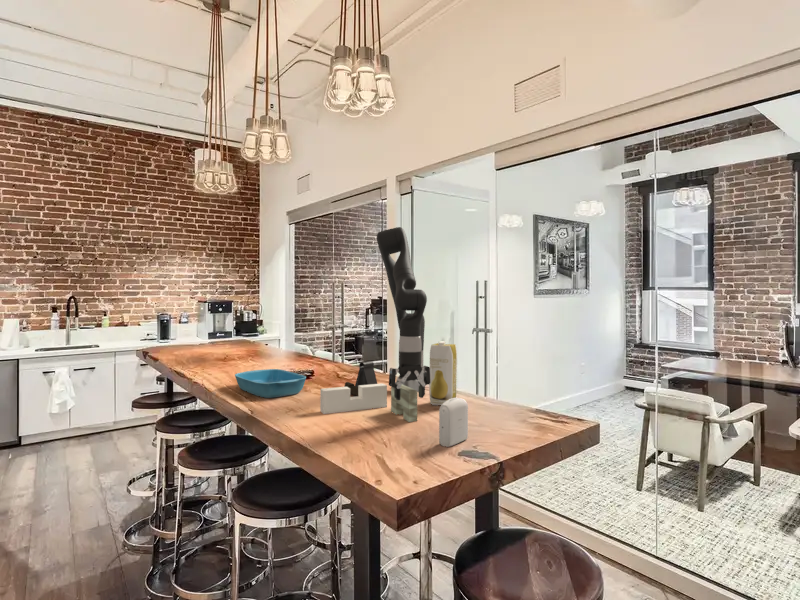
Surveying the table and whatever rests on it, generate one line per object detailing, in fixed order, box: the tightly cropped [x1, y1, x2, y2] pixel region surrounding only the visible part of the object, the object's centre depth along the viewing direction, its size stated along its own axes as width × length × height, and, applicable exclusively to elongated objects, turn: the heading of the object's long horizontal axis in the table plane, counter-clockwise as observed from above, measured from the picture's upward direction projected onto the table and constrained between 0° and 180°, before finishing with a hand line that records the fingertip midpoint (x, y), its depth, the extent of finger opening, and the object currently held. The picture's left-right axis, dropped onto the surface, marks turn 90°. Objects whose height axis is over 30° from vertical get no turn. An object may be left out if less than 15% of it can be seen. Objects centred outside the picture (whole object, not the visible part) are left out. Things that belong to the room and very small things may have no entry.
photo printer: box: [438, 397, 469, 448], centre depth 130 cm, size 10×4×12 cm, turn 139°
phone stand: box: [354, 360, 378, 387], centre depth 201 cm, size 9×6×12 cm, turn 48°
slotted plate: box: [390, 385, 418, 423], centre depth 156 cm, size 3×14×10 cm, turn 26°
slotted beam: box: [319, 382, 388, 415], centre depth 166 cm, size 24×4×8 cm, turn 116°
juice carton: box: [428, 340, 458, 406], centre depth 174 cm, size 9×8×24 cm
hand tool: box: [343, 381, 358, 397], centre depth 187 cm, size 19×4×5 cm, turn 33°
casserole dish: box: [234, 368, 307, 399], centre depth 196 cm, size 37×22×7 cm, turn 41°
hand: (409, 398), depth 152 cm, fingers open, 8 cm apart
